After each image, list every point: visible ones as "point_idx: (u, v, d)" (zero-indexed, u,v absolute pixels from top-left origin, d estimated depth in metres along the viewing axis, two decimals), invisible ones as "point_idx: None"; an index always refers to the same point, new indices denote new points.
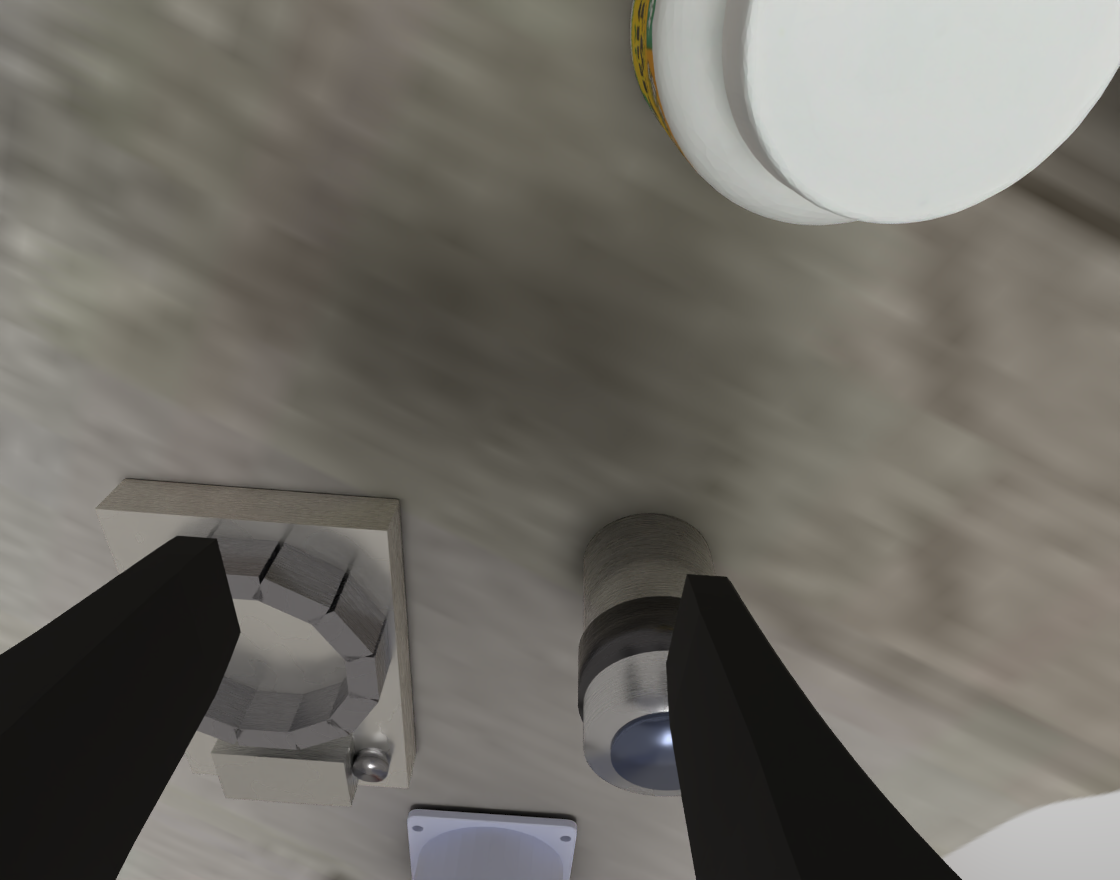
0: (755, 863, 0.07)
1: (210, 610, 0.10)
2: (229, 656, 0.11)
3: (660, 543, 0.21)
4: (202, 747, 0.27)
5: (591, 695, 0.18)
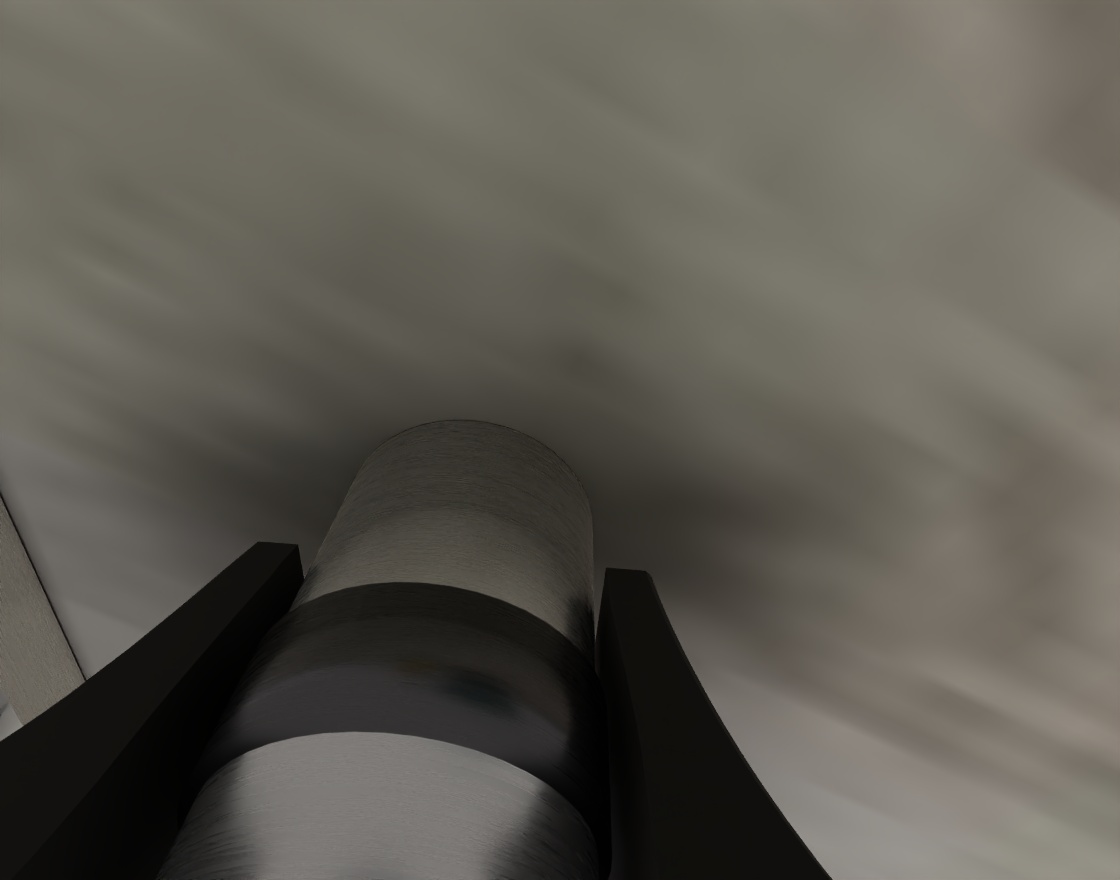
0: (635, 855, 0.07)
1: None
2: None
3: (458, 471, 0.10)
4: None
5: None
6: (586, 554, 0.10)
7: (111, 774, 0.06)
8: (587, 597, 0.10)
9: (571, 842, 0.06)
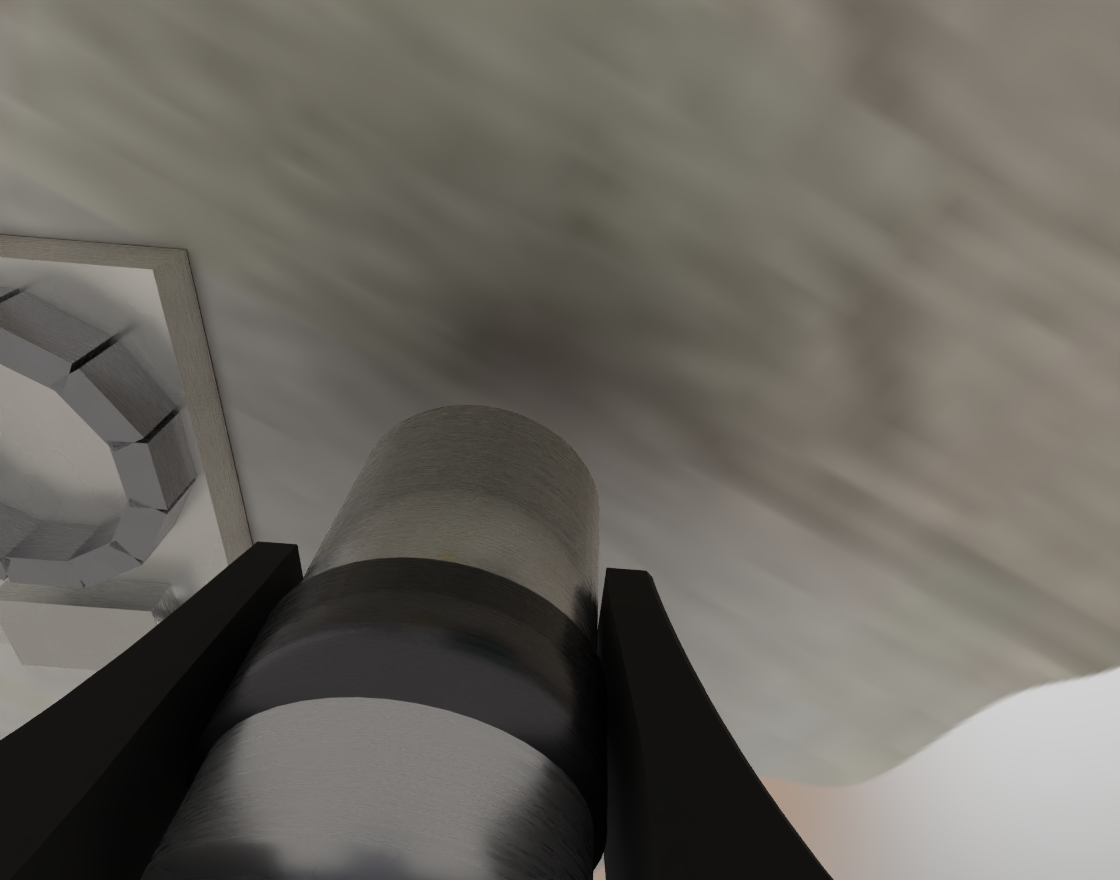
0: (636, 855, 0.07)
1: None
2: None
3: (467, 454, 0.10)
4: None
5: None
6: (591, 539, 0.11)
7: (109, 775, 0.06)
8: (591, 581, 0.10)
9: (566, 812, 0.07)
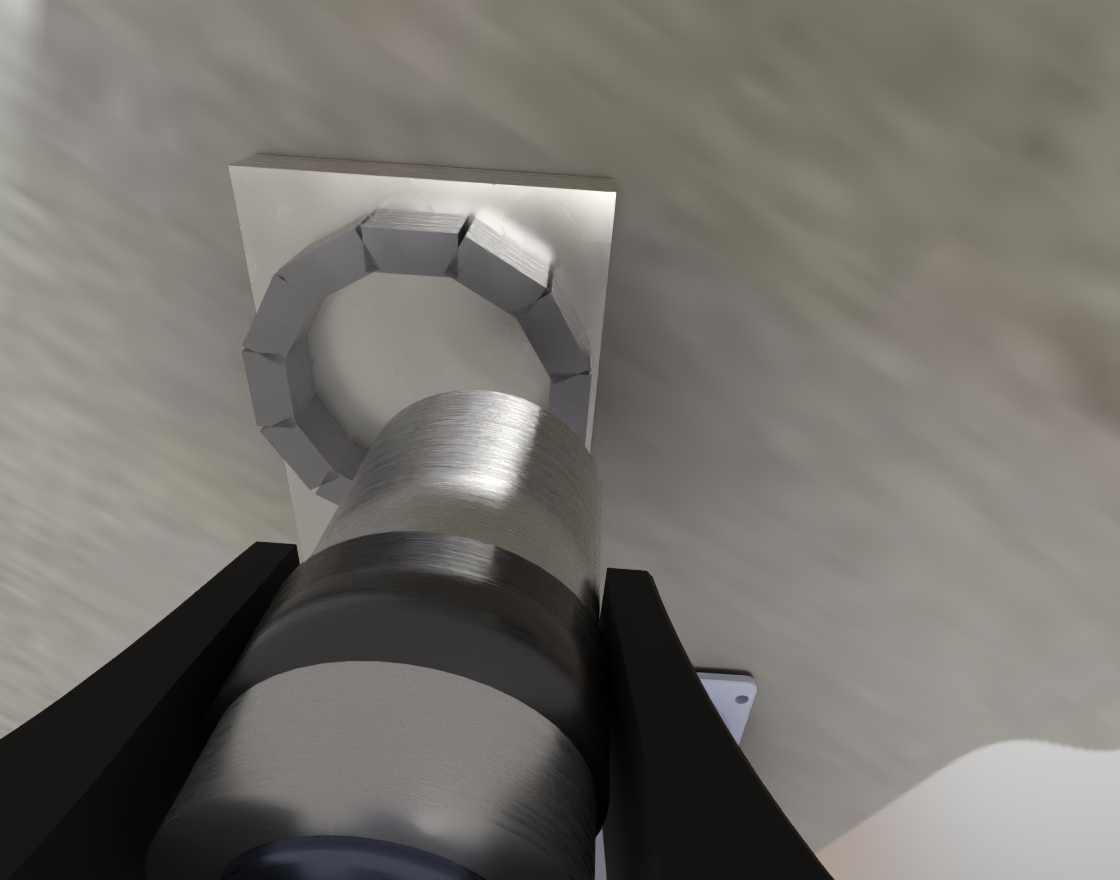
0: (637, 855, 0.07)
1: None
2: None
3: (479, 436, 0.10)
4: None
5: None
6: (595, 526, 0.11)
7: (108, 774, 0.06)
8: (595, 565, 0.10)
9: (574, 780, 0.07)
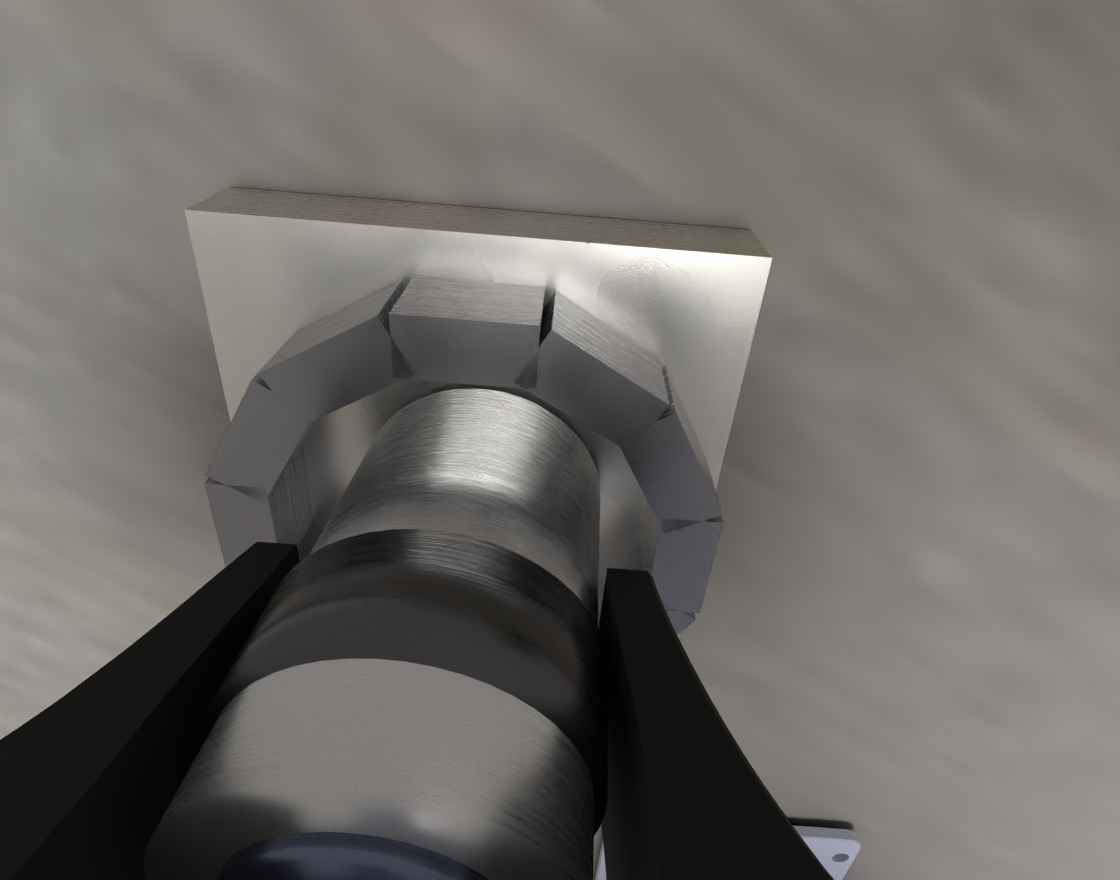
0: (637, 855, 0.07)
1: None
2: None
3: (478, 435, 0.10)
4: None
5: None
6: (594, 525, 0.11)
7: (109, 774, 0.06)
8: (594, 564, 0.10)
9: (572, 778, 0.07)
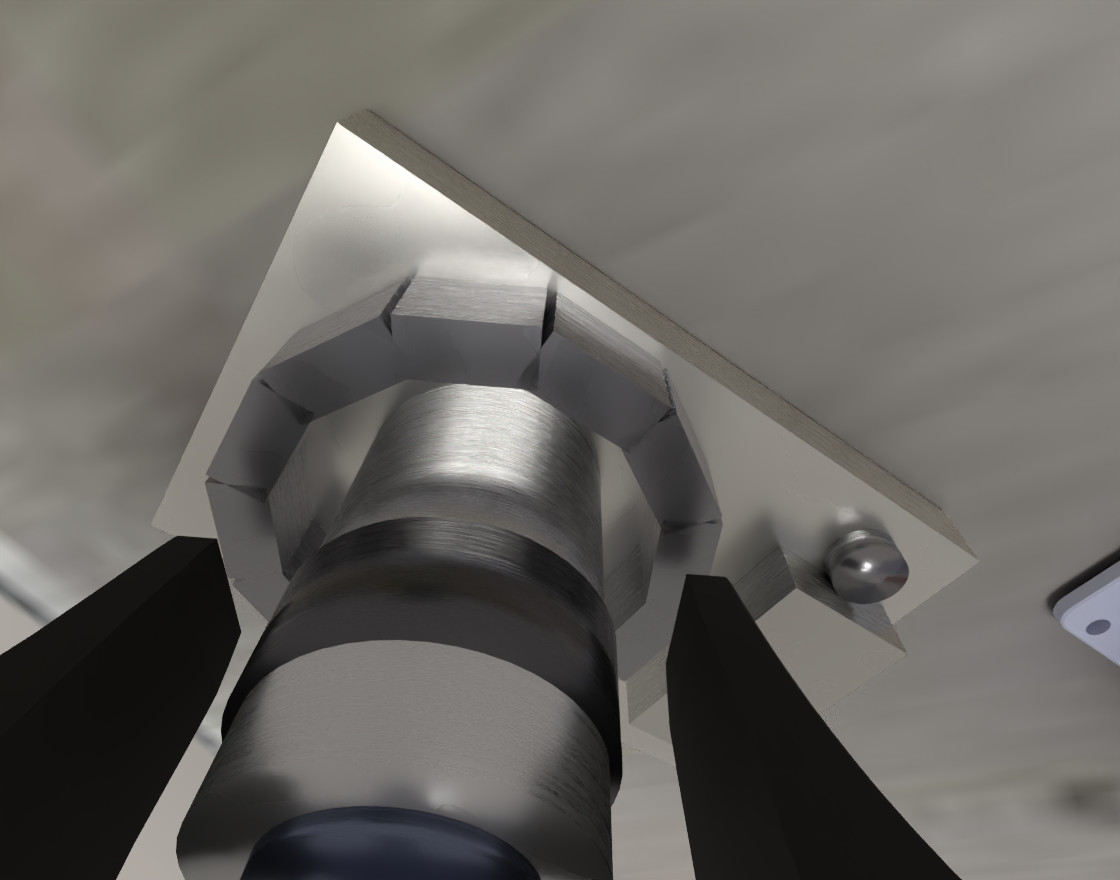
0: (754, 863, 0.07)
1: (210, 610, 0.10)
2: (229, 656, 0.11)
3: (484, 427, 0.10)
4: None
5: None
6: (598, 512, 0.11)
7: None
8: (599, 550, 0.10)
9: (591, 751, 0.07)
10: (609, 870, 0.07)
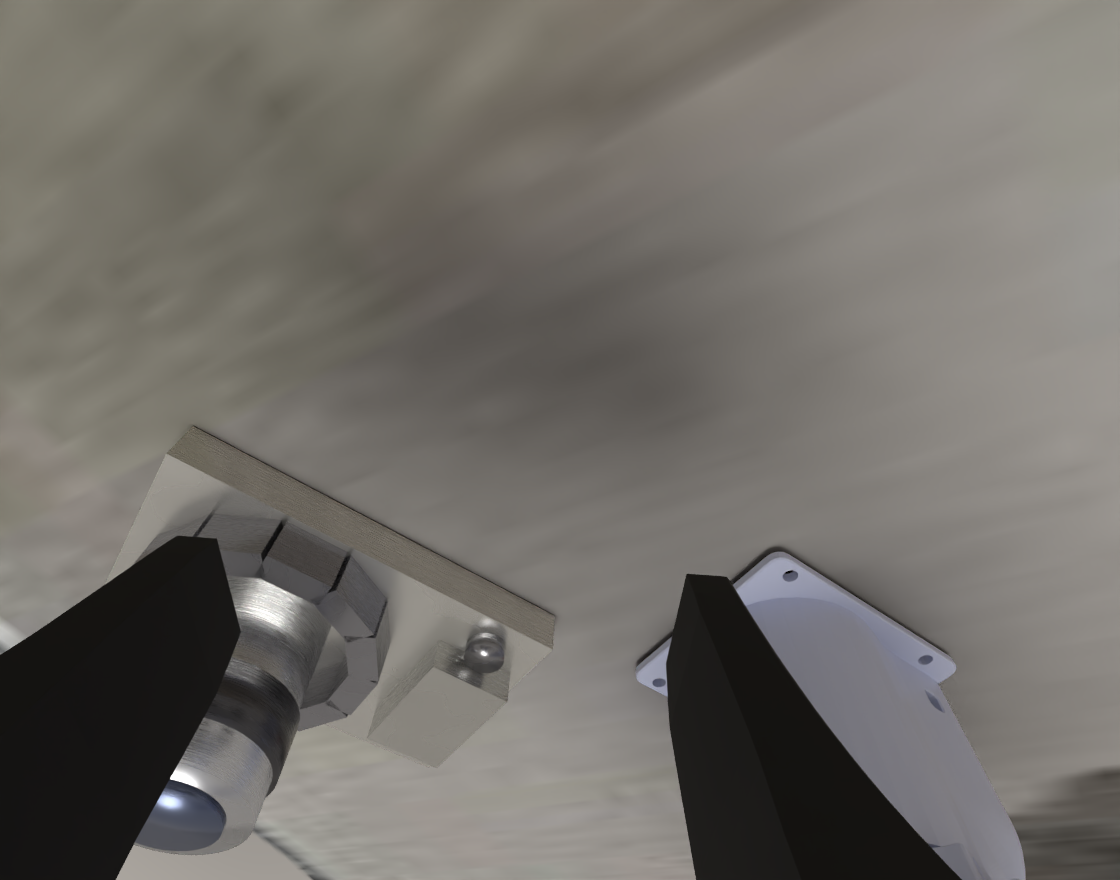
0: (755, 863, 0.07)
1: (210, 610, 0.10)
2: (229, 656, 0.11)
3: (244, 593, 0.21)
4: None
5: None
6: (311, 631, 0.22)
7: None
8: (303, 653, 0.21)
9: (248, 754, 0.18)
10: (245, 800, 0.17)
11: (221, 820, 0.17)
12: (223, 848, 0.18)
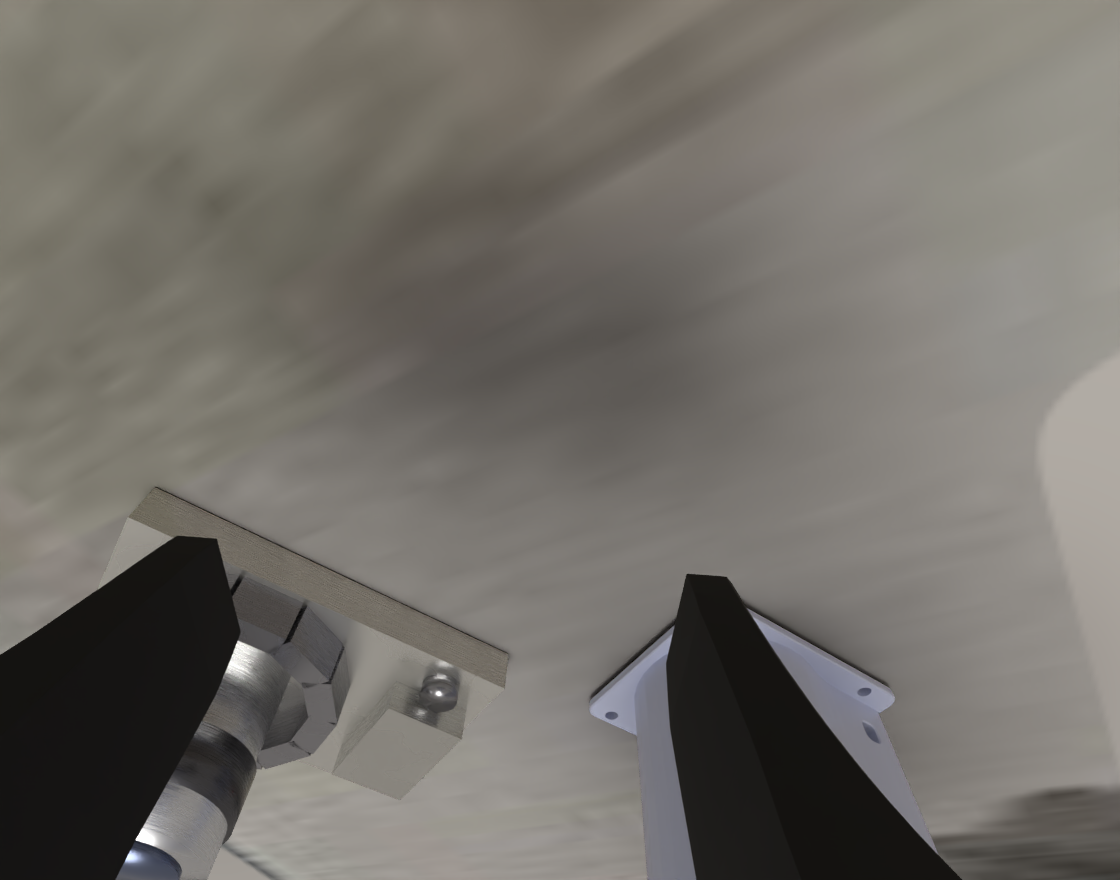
0: (755, 863, 0.07)
1: (210, 610, 0.10)
2: (229, 656, 0.11)
3: None
4: None
5: None
6: (267, 680, 0.23)
7: None
8: (258, 703, 0.22)
9: (197, 809, 0.19)
10: (194, 853, 0.18)
11: (174, 871, 0.18)
12: None
